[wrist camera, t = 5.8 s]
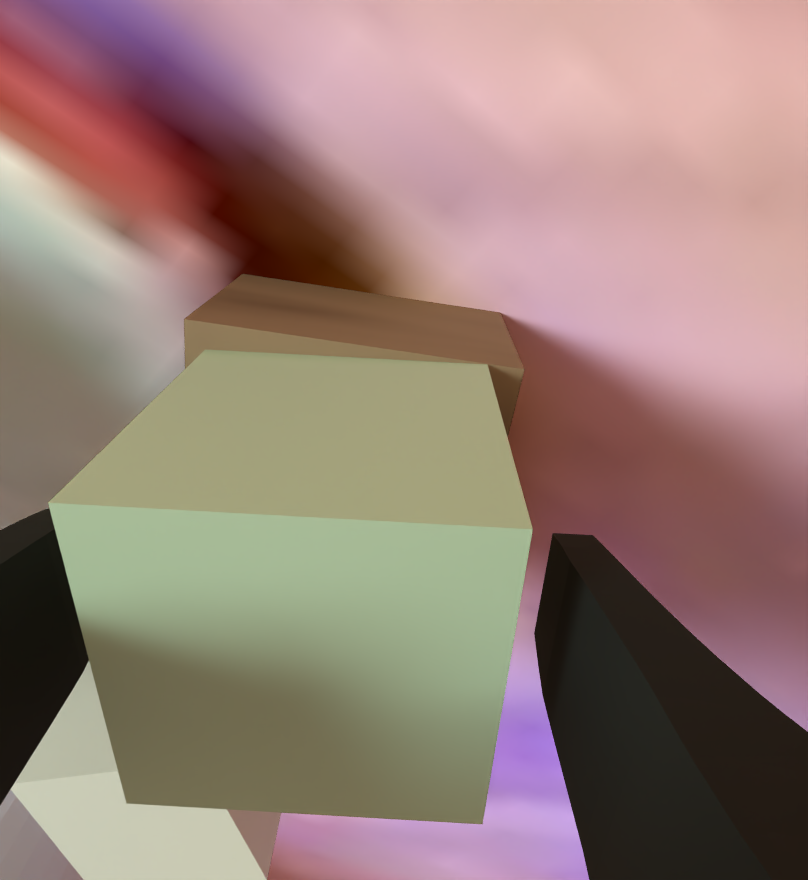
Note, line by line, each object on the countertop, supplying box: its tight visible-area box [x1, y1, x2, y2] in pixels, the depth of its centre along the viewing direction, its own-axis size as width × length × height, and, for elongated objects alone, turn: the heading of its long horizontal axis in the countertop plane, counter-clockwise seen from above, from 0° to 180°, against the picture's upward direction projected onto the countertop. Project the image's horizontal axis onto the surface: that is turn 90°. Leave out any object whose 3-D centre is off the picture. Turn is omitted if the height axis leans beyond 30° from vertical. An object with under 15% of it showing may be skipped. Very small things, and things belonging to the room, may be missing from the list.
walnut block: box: [184, 274, 524, 438], centre depth 14 cm, size 6×6×4 cm
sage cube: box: [48, 350, 533, 824], centre depth 10 cm, size 5×5×5 cm
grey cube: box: [11, 661, 281, 880], centre depth 18 cm, size 5×5×5 cm
